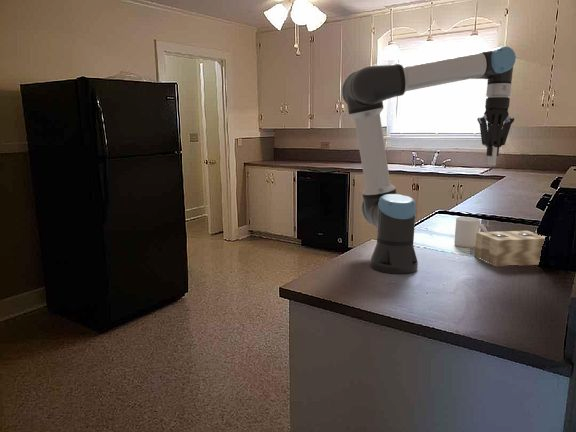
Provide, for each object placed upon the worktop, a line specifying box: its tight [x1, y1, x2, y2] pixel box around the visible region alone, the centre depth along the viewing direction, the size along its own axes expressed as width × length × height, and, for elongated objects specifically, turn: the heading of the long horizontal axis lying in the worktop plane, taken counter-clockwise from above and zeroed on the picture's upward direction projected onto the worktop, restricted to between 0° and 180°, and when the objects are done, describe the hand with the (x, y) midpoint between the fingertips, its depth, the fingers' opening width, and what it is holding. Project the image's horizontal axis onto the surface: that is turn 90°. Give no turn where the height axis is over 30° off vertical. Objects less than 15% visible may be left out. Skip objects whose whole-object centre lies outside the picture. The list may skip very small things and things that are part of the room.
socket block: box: [473, 230, 546, 267], centre depth 152 cm, size 20×12×9 cm, turn 99°
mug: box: [453, 216, 488, 249], centre depth 170 cm, size 9×12×11 cm
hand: (491, 165), depth 155 cm, fingers closed
